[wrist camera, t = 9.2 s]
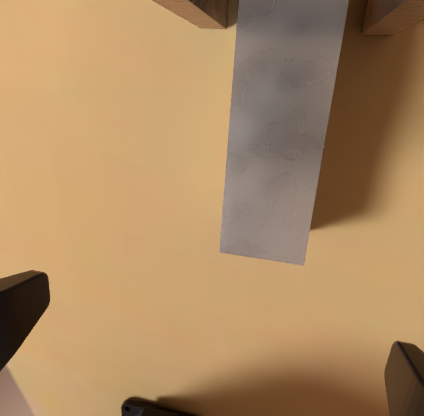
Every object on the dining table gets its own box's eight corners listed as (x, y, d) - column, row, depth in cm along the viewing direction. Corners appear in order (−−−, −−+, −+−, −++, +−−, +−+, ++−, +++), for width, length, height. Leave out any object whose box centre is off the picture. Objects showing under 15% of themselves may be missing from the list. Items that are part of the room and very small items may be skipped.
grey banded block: (302, 232, 20) (304, 266, 16) (232, 222, 21) (218, 252, 17) (371, -186, 14) (398, -283, 10) (267, -179, 15) (257, -267, 11)
